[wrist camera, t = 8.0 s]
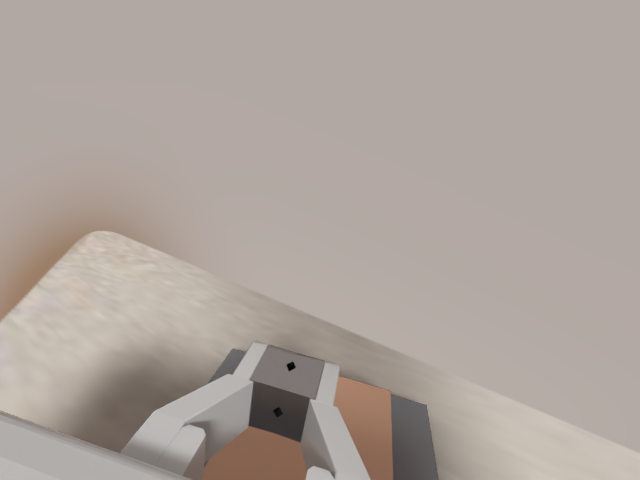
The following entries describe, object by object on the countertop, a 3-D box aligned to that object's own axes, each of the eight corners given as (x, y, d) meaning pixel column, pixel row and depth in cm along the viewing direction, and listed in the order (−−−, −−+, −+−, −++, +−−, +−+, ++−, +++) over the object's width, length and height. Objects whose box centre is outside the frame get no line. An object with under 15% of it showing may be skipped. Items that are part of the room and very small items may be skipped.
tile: (380, 687, 10) (382, 415, 19) (398, 660, 9) (390, 390, 18) (156, 594, 11) (261, 379, 20) (154, 562, 10) (265, 354, 19)
